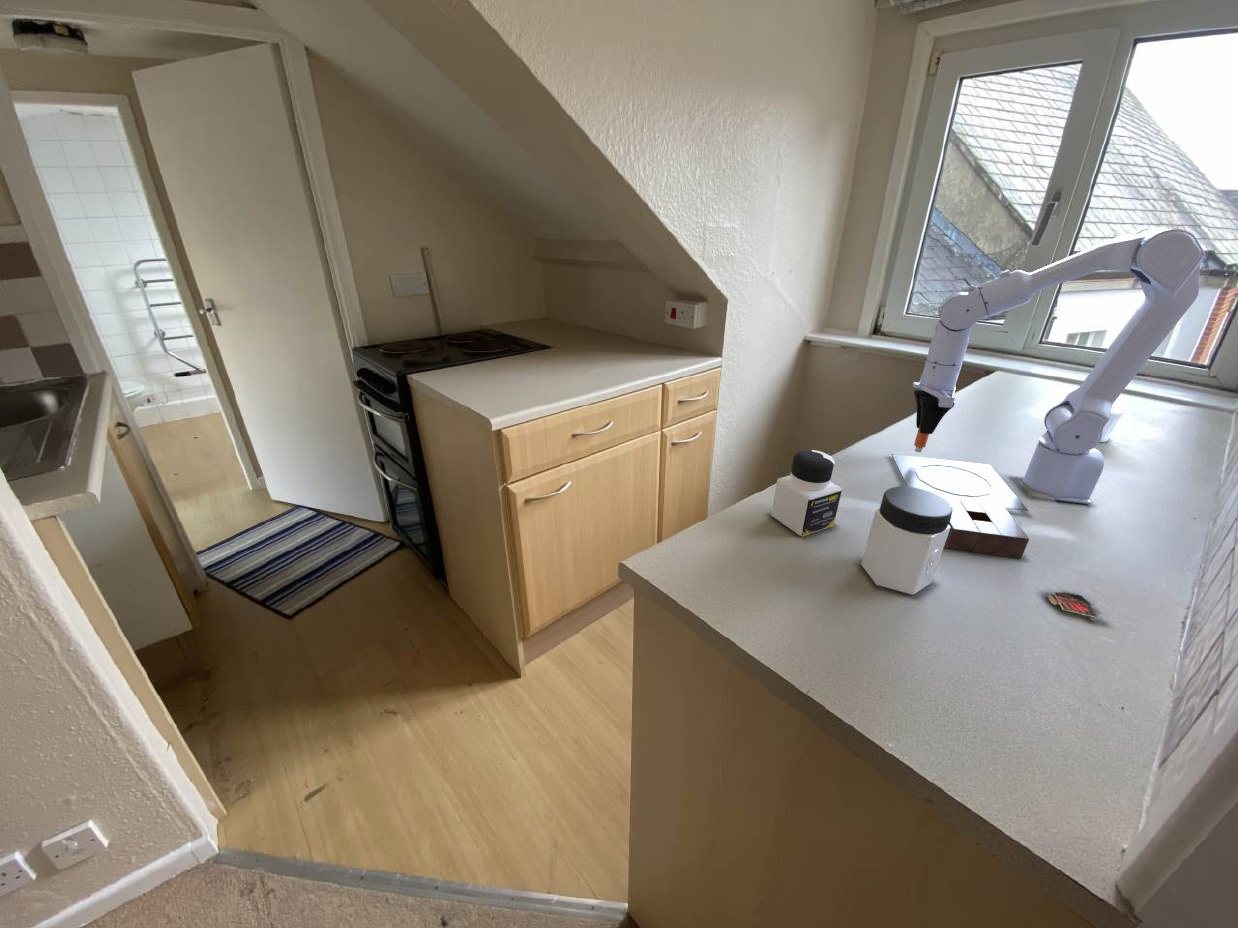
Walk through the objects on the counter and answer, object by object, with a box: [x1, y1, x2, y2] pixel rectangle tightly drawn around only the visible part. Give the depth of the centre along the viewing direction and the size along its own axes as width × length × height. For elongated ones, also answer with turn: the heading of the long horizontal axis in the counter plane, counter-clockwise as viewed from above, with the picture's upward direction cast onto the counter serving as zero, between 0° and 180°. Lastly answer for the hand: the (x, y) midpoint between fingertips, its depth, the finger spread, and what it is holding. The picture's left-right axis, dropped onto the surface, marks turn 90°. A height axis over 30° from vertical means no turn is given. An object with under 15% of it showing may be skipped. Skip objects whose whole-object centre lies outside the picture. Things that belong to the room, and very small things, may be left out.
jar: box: [860, 486, 953, 596], centre depth 72 cm, size 9×8×12 cm
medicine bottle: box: [771, 449, 843, 537], centre depth 84 cm, size 7×7×12 cm
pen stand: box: [944, 498, 1030, 559], centre depth 83 cm, size 10×10×4 cm
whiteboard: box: [891, 453, 1029, 512], centre depth 98 cm, size 18×18×1 cm
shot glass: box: [1099, 405, 1125, 443], centre depth 118 cm, size 7×7×7 cm
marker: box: [913, 425, 930, 453], centre depth 102 cm, size 2×2×10 cm
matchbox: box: [1046, 591, 1100, 622], centre depth 68 cm, size 5×5×1 cm
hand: (924, 430), depth 102 cm, fingers closed on marker, 2 cm apart
